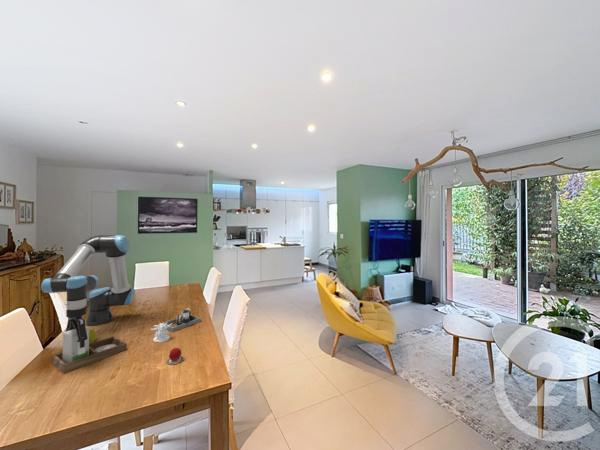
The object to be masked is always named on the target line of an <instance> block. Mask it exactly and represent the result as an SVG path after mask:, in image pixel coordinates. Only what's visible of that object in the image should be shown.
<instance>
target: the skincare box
mask: <svg viewBox="0 0 600 450" xmlns="http://www.w3.org/2000/svg"><path fill="white" fill-rule="evenodd" d="M89 329H90V328H89V327H86V332H87V338H88V339H87V340H85V353H83V354H80V355H78V342H77V341H78V336H77V332H76V329H72V330H70V331H67V332H66V331H63V332H62V352H63V358H62V361H63V362H64V363H65V364H67V363H70V362H73V361H76V360H78V359H81V358H84V357H87V356H89Z"/></svg>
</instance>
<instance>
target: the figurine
mask: <svg viewBox="0 0 600 450" xmlns="http://www.w3.org/2000/svg"><path fill="white" fill-rule="evenodd" d="M172 325H173V324H170V325H167V323H165V324H164V322H160V323H159V324H155V325H153V328H150V330H151V331H155V332H154V333H153V335H154V338H153V339H152V341H153V342H155V343H156V344H162V343H165V342H167V341H169V340H170V338H171V337H170V335H169V333H170V331H169V330H166V329H167V328H168V327H170V326H171V327H172Z"/></svg>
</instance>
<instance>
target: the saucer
mask: <svg viewBox="0 0 600 450" xmlns="http://www.w3.org/2000/svg"><path fill="white" fill-rule="evenodd" d="M115 346H116V345H113V344H111V345H105V346H101V347H99V348H97V349H96V351H97V352H101V351H104V350H106V349H109V348H112V347H115Z"/></svg>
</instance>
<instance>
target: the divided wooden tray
mask: <svg viewBox="0 0 600 450" xmlns="http://www.w3.org/2000/svg"><path fill="white" fill-rule="evenodd" d="M111 344H113V345H116V346H115V347H112V348H109V349H106V350H104V351H101V352H97V351H96V349H97V348H99V347H101V346H105V345H111ZM127 344H128V343H127V342H126V341H124V340H122V339H120V338H118V337H116V336H115V335H112V336H109V337H106V338H103V339H100V340H96V341H94V342H93V343H90V344H89V356H87V357H84V358H81V359H78V360H76V361H73V362H70V363H67V364H65V363H64V362H63V361H62V358H63V351H62V352H60V353H57V354H53V355H51V357H52V359H51V361H52V364H53V365H54V366H55V367H56V368H57V369H58V370H59V371H61V372H62V374H66V373H68V372H71V371H74V370H76V369H80V368H82V367H84V366H87V365H90V364H92V363H95V362H98V361H99V360H102V359H105V358H107V357H111V356H113V355H115V354H116V355H117V354H119V353H121V352H124V351H127V349H128V347H127V346H128V345H127Z"/></svg>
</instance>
